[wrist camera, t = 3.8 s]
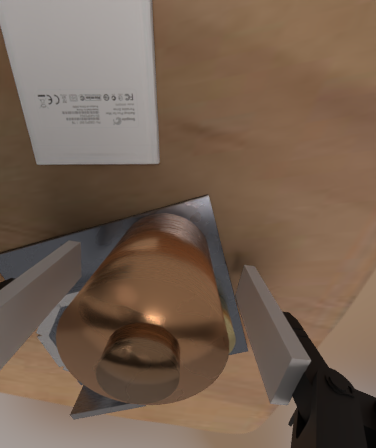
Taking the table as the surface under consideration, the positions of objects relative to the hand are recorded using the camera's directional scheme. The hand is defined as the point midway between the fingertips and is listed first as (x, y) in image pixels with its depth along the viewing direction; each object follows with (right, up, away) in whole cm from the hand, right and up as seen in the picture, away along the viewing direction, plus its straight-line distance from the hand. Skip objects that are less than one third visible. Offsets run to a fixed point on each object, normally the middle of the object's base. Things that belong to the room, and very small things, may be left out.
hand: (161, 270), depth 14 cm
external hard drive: (-4, +14, -1) cm, 14 cm away
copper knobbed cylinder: (0, +1, +2) cm, 2 cm away
